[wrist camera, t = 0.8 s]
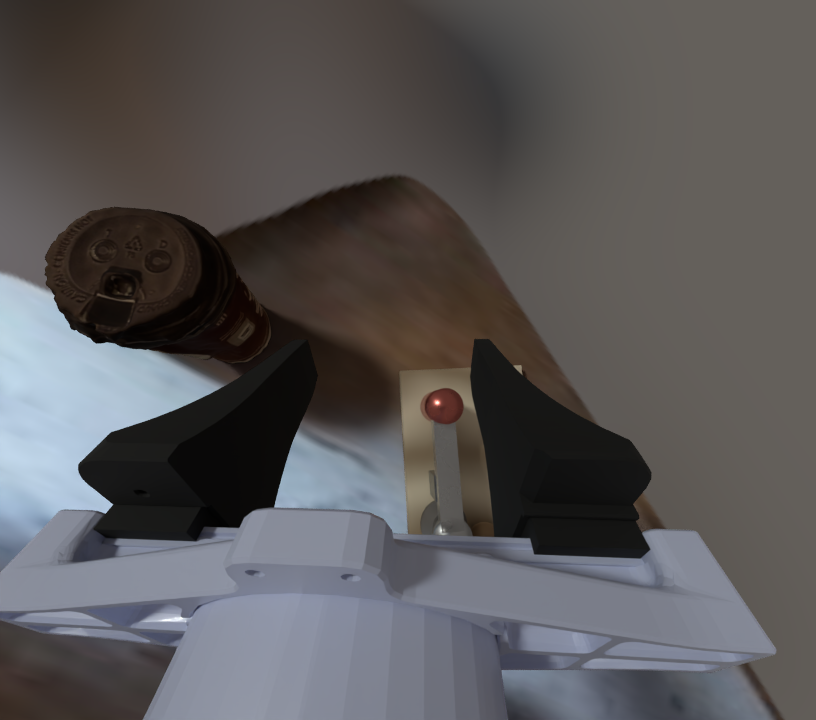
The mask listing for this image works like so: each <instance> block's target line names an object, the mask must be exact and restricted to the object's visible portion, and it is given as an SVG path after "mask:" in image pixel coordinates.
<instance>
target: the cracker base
mask: <svg viewBox="0 0 816 720" xmlns="http://www.w3.org/2000/svg"><path fill="white" fill-rule="evenodd" d="M514 367H515V368H516V369H517V370H518V371H519V372H520V373H521V374H522V368H521V366H514ZM470 372H471V368H454V369H432V370H410V371H400V372H399V382H400V400H401V417H402V435H403V452H404V470H405V488H406V505H407V523H408V534H423V535H432V529H433V526H434V524H435V522H436V521H437V520H438V511H437V502H435V500H434V499H433V498H432V496H431V495H430V483H429V470H435V469H434V456H433V442H432V428H431V422H430V421H428V420H427V419H425V418H424V416H423V415H422V413H421V410H420V404H421V401H422V399H423V397H424V396H425V395H426V394H428V393H430V392H432V391H435V390H439V389H442V388H450V389H453V390H455V391H456V392H457V393H458V394H459V395H460V396H461V398H462V400H463V404H464V409H463V413H462V415H461V417H460V418H459V419H458V420H457V421H456V422H455V423H456V435H457V447H458V458H459V470H460V482H461V494H462V505H463V517H464V521H465V522H466V523H467V524H468V526H469V527H470V529H471V531H472V535H473V536H479V537H494V528H493V517H492V507H491V498H490V489H489V480H488V472H487V464H486V457H485V449H484V444H483V439H482V435H481V431H480V427H479V423H478V419H477V415H476V411H475V406H474V402H473V398H472V391H471V381H470Z"/></svg>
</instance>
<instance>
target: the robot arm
mask: <svg viewBox="0 0 816 720" xmlns="http://www.w3.org/2000/svg"><path fill="white" fill-rule="evenodd" d="M317 377H318V375H317V371H316V368H315V364H314V361H313V357H312V354H311V350H310V347H309V343H308V340H293V341H291V342H290V343H288V344H287V345H285V346H284V347H282V348H281V349H280V350H278V351H277V352H275V353H274V354H273V355H271V356H270V357H268V358H267V359H266V360H264V361H263V362H262V363H260V364H259V365H257V366H256V367H254V368H253V369H251V370H250V371H248V372H247V373H245V374H244V375H242V376H241V377H239V378H238V379H236V380H234V381H233V382H231V383H229V384H228V385H226V386H224V387H222V388H220V389H219V390H217V391H215V392H213V393H211V394H209V395H207V396H205V397H203V398H201V399H199V400H196V401H194V402H192V403H190V404H188V405H186V406H184V407H181V408H179V409H176V410H174V411H172V412H169V413H166V414H164V415H161V416H159V417H156V418H153V419H150V420H148V421H145V422H142V423H139V424H136V425H133V426H129V427H126V428H123V429H120V430H117V431H114V432H111V433H110V434H109V435H108V436H107V437H106V438H105V439H104V440H103V441H102V442H101V443H100V444H99V445H98V446H97V447H96V448H95V449H94V450H93V451H91V452H90V453H89V454H88V455H87V456H86V457H85V458H84V459H83V460H82V461H81V462H80V463H79V464H78V471H79V474H80V476H81V477H82V479H83V480H84V481H85V482H86V483H87V484H88V485H90V486H91V487H92V488H93V489H95V490H96V491H97V492H98V493H100V494H101V495H102V496H103V497H105V498H106V499H107V500H108V501H110V502H111V503H112V504H113V506H112V507H111V508H110V509H109V510H108V512H107V513H106V514H104V513H102V512H99V511H93V510H61V511H59V512H58V513H57V514H56V515H55V516H54V517H53V518H52V519H51V520H50V521H49V522H48V524H47V525H46V526H45V527H44V528H43V529H42V530H41V531H40V532H39V533H38V534H37V535H36V536H35V537H34V538H33V539H32V540H31V541H30V542H29V543H28V544H27V545H26V546H25V547H24V548H23V550H22V551H21V552H20V553H19V554H18V555H17V556H16V557H15V558H14V559H13V560H12V561H11V562H10V563H9V564H8V565H7V566H6V567H5V568H4V569H3V570H2V571H1V572H0V620H2V621H5V622H9V623H12V624H15V625H18V626H21V627H24V628H28V629H31V630H34V631H37V632H40V633H44V634H57V635H71V636H83V637H94V638H104V639H113V640H122V641H131V642H139V643H148V644H156V645H164V646H173V647H178V648H177V650H176V652H175V654H174V656H173V658H172V661H171V663H170V665H169V667H168V669H167V671H166V673H165V675H164V677H163V679H162V681H161V683H160V686H159V688H158V690H157V692H156V694H155V696H154V698H153V700H152V702H151V704H150V706H149V708H148V711H147V713H146V715H145V717H144V719H143V720H508V715H507V708H506V701H505V694H504V686H503V679H502V672H501V670H651V671H679V672H700V673H712V672H715V671H719V670H722V669H726V668H729V667H733V666H736V665H740V664H743V663H747V662H750V661H754V660H757V659H761V658H764V657H768V656H771V655H775V654H776V648H775V647H774V646H773V644H772V642H771V641H770V639H769V638H768V636H767V635H766V633H765V632H764V630H763V629H762V627H761V626H760V624H759V623H758V621H757V620H756V618H755V617H754V616H753V614H752V613H751V611H750V610H749V608H748V607H747V605H746V604H745V602H744V601H743V599H742V598H741V596H740V595H739V593H738V592H737V590H736V589H735V588H734V586H733V584H732V583H731V581H730V580H729V578H728V577H727V576H726V574H725V573H724V571H723V570H722V568H721V567H720V565H719V564H718V562H717V561H716V559H715V558H714V556H713V555H712V553H711V552H710V550H709V549H708V547H707V546H706V544H705V543H704V541H703V540H702V538H701V537H700V535H699V534H698V533H697V532H696V531H693V530H673V529H650V530H647V531H644V532H641V531H640V529H639V527H638V525H637V523H636V521H637V520H638V519H639V514H638V513H637V511H636V509H635V507H634V505H633V503H634V502H635V501H636V500H637V499H638V497H639V496H640V495H641V494H642V492H643V491H644V490H645V489H646V487H647V486H648V484H649V482H650V480H651V471H650V469H649V467H648V466H647V464H646V463H645V461H644V460H643V458H642V456H641V455H640V453H639V452H638V450H637V449H636V448H635V446H634V445H633V443H632V442H631V441H630V440H628V439H626V438H624V437H622V436H620V435H617V434H615V433H613V432H611V431H608V430H606V429H604V428H602V427H600V426H598V425H596V424H594V423H592V422H590V421H588V420H586V419H584V418H583V417H581V416H579V415H577V414H575V413H574V412H572V411H570V410H569V409H567V408H566V407H564V406H562V405H561V404H559V403H558V402H556V401H555V400H553V399H552V398H550V397H549V396H548V395H546V394H545V393H544V392H542V391H541V390H540V389H538V388H537V387H536V386H534V385H533V384H532V383H531V382H530V381H529V380H527V379H526V378H525V377H524V376H523V375H522V374H521V373H520V372H519V371H518V370H517V369H516V368H515V367H514V366H513V365H512V364H511V363H510V362H509V361H508V360H507V359H506V358H505V357H504V356H503V354H502V353H501V352H500V351H499V350H498V349H497V348H496V346H495V345H494V344H493V343H492V342H491V341H490V340H489V339H474V347H473V355H472V364H471V372H470V381H471V391H472V398H473V402H474V406H475V411H476V415H477V419H478V423H479V427H480V431H481V435H482V439H483V444H484V449H485V457H486V464H487V472H488V480H489V489H490V498H491V507H492V517H493V528H494V537H479V536H451V535H423V534H395V533H392V530H391V528H390V527H389V526H388V524H387V523H386V522H385V521H384V519H382V518H380V517H378V516H376V515H374V514H371V513H368V512H362V511H355V510H335V509H303V508H274V505H275V501H276V497H277V493H278V489H279V485H280V481H281V478H282V474H283V471H284V467H285V464H286V460H287V457H288V454H289V451H290V448H291V445H292V442H293V439H294V437H295V435H296V432H297V430H298V428H299V425H300V423H301V421H302V419H303V416H304V414H305V412H306V410H307V407H308V405H309V403H310V400H311V398H312V395H313V392H314V388H315V385H316V381H317Z"/></svg>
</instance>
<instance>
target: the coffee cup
mask: <svg viewBox="0 0 816 720" xmlns="http://www.w3.org/2000/svg"><path fill="white" fill-rule="evenodd" d="M45 260H46V261H47V263H48V266H46V268H45V272H46V273H45V275H46V276H47V281H46V285H47V286H48V287H49V288H50V289H51V290H52V293H53V294H54V295H55V297H54V300H55V302H56V303H57V306H58V309H59V311H60V312H61V313H63V314H64V316H65V318H66V320H67V321H68V322H69V324H70V328H71V329H72V330H77V331H78V332H79V333H81V334H83V335H85V336H87V337H89V338H91V339H92V341H93V342H95V343H96V344H97V343H105V342H109V343H116V344H117V345H119V346H121V347H127V348H132V349H144V350H147V349H149V350H152V351H159V352H162V353H169V354H178V355H184V356H191V357H195V358H199V359H203V360H208V359H211V358H215V359H217V360H221V361H225V362H228V363H236V362H248V361H250V360H251V359H252V358H254V357H255V356H256V355H258V354H260V353H261V352H262V350H263V349H264V348H265V347H266V346H267V345H268V342H269V340H270V338H271V327H270V322H269V318H268V316H267V314H266V312H265V310H264V309H263V308H262V307H261V305H260V303H259V302H258V301H257V300H256V298H255V297H254V295H253V294H252V293H251V291H250V290H249V289H248V287H247V286H246V285H245V283H244V282H243V281H242V279H241V278H240V277H239V275H238V274H237V273H236V269H235V268H234V265H233V263H232V261H231V258H230V256H229V254H228V252H227V251H226V249H225V248H224V246H223V245H222V244H221V243H220V242H219V240H218V239H217V238H216V237H214V236H213V235H212V234H210V232H208V231H207V230H206V229H205V228H204V227H202V226H200V225H199V224H197V223H195V222H192V221H191V220H188V219H187V218H185V217H182V216H180V215H175V214H171V213H167V212H160V211H155V210H150V209H136V208H121V207H114V208H113V207H110V208H103V209H100V210H94V211H90V212H89V213H87V214H86V215H85V216H82V217H81V218H79V219H76V220H75V221H74V222H73V223H72V224H70V225H69V226H68V228H67V229H66V230H65V231H64V232H62V233H61V234H59V235H58V237H57V239H56V241H54V242H53V243H52V244H51V246H50V248H49V250H48V252H47V254H46V256H45Z"/></svg>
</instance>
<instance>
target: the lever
mask: <svg viewBox="0 0 816 720" xmlns="http://www.w3.org/2000/svg"><path fill="white" fill-rule="evenodd" d="M463 409H464V404H463V400H462V398H461V396H460V395H459V394H458V393H457V392H456V391H455V390H453V389H450V388H442V389H439V390H435V391H432V392H430V393H428V394H426V395H425V396H424V397H423V399H422V401H421V404H420V410H421V413H422V415H423V416H424V418H425V419H427V420H428V421H430V422H431V428H432V442H433V456H434V469H435V470H429V483H430V495H431V496H432V498H433V499H434V500H435V502H437V511H438V520H437V521H436V522H435V524H434V526H433V529H432V535H451V536H473V535H472V531H471V529H470V527H469V526H468V524H467V523H466V522H465V521H464V517H463V505H462V494H461V482H460V470H459V458H458V447H457V435H456V423H455V422H456V421H457V420H458V419H459V418H460V417H461V415H462V413H463Z"/></svg>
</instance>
